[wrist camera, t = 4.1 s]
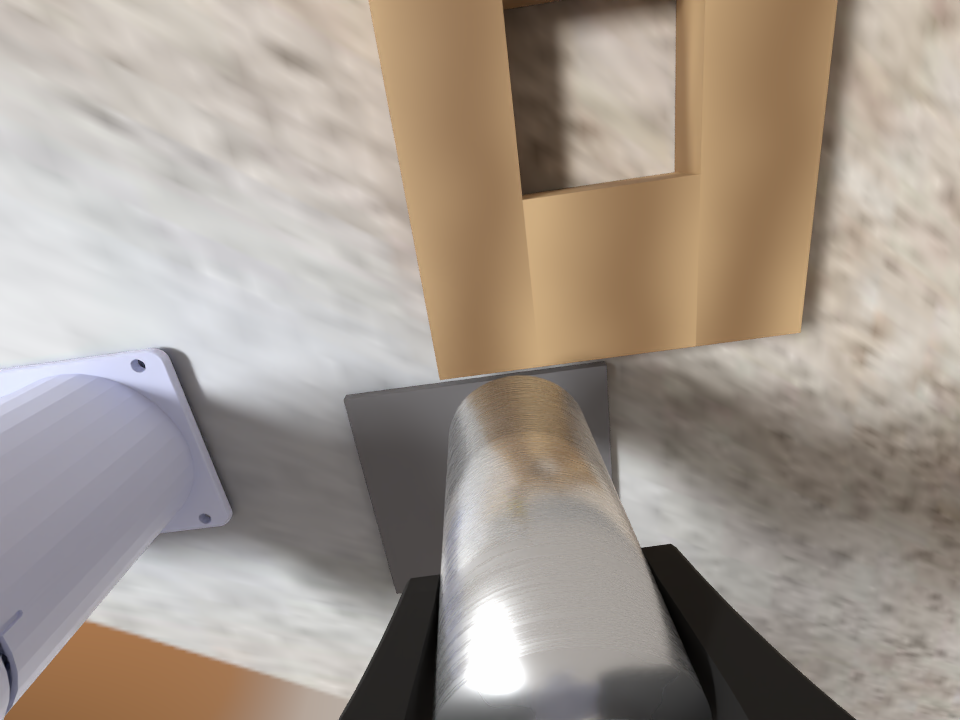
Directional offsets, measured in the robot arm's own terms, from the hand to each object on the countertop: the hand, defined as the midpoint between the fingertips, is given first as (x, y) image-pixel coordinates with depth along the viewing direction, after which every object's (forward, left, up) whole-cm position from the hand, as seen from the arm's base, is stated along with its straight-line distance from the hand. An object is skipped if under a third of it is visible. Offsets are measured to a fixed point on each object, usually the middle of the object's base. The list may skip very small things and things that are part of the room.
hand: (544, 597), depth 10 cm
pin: (0, +1, -5) cm, 5 cm away
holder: (+4, +10, -10) cm, 14 cm away
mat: (-1, -4, -10) cm, 11 cm away
